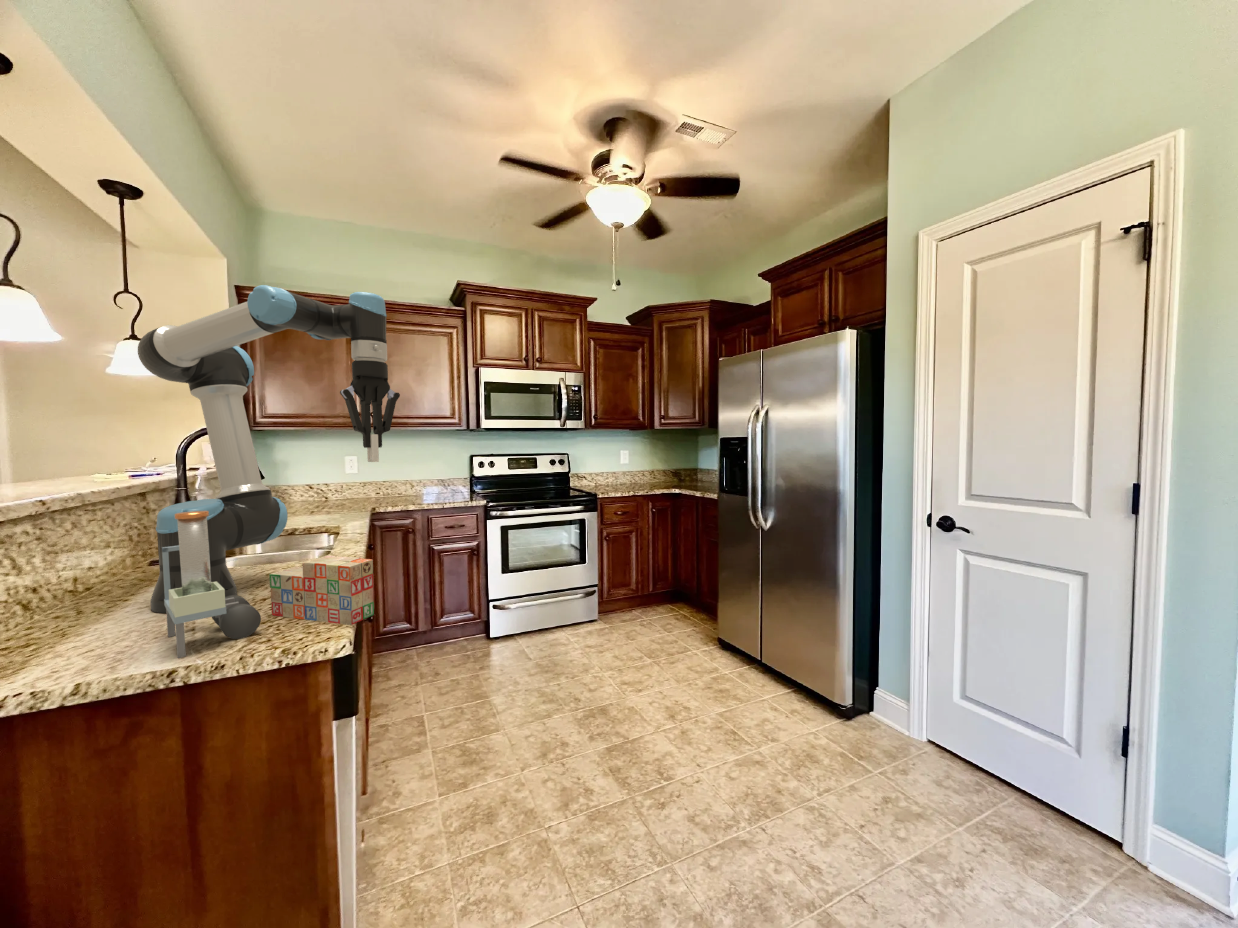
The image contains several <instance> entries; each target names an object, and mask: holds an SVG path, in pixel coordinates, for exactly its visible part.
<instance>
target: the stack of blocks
mask: <svg viewBox="0 0 1238 928" xmlns="http://www.w3.org/2000/svg"><path fill="white" fill-rule="evenodd" d="M373 561H374V560H373V559H370V558H361V557H355V556H354V557H353V556H352V557H351V556H334V555H325V556H322V557H318V558H314V559H311V560H308V561H303V562H302V567H301V566H291V567H289V568H286V569H283V570H279V571H276V572H272V573H269V574H268V575H269V587H270V602H271V616H276V617H283V618H290V619H297V620H308V621H315V622H316V621H317V622H325V623H331V624H339V625H347V626H349V625H350V626H353V625H355V624H357V623H360V622H361V621H364V620H365V619H367V618H370V617H372V616H374V615H375V602H374V564H373V563H374V562H373Z"/></svg>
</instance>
